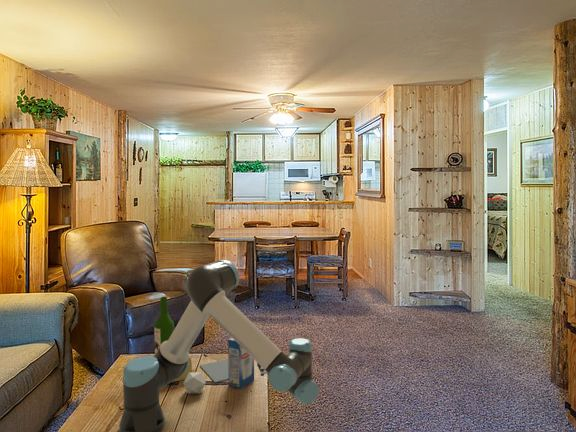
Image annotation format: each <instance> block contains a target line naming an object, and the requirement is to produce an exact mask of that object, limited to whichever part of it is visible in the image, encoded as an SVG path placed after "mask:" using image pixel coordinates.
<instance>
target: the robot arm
mask: <svg viewBox="0 0 576 432" xmlns="http://www.w3.org/2000/svg"><path fill="white" fill-rule="evenodd" d="M239 283H240V274H239V270H238V268H237V267H236V265H235V264H234V263H232V262H231V261H230V260H227V259H217V260H215V261H211V262H210V263H207V264H203V265H199V266H197V267H195V268H194V269H193V270H192V271H190V273H189V275H188V277H187V279H186V292H187V295H188V297H189V298H190V302H189V303H188V305H187V307H186V309H185V310H184V312H183V314H182V315H181V317H180V319H179V320H178V322H177V325H176V326H175V327H174V331H173V333H172V335H171V336H170V338H169V340H167V341H164V342H163V343H162V344H161V345H160V347H159V349H158V351H157V352H156V354H155V353H154V354H153V355H144V356H140V357H135V358H134V359H133V358H132V359H131V360H130V361H128V362H127V363H126V365H125V366H124V367H123V371H122V372H123V373H122V374H123V375H122V383H123V384H122V387H123V411H122V415H121V417H120V422H119V426H118V427H119V430H118V431H119V432H161V431H162V430H164V427H165V425H166V418H165V417H166V416H165V415H164V411H163V410H162V406H161V404H160V391H161V390H162V389H163V388H165V387H166V386H167V385H169V384H170V383H173V382H172V381H173V380H175V379H177V378H179V377H180V376H181V375H182V374H183V373H184V372H185V371H186V369H187V367H188V363H189V360H188V359H189V356H190V352H189V351H190V349H191V348H192V346H193V344H194V343H195V341H196V340H197V337H198V336H199V334H200V333H201V331H202V330H203V327H204V326H205V324H207V321H208V319H209V318H212V319H213V320H214V321H215V322H216V323H217V324H218V325H219V326H220V327H221V328H222V329H223V330H224V332H226V334H228V335H229V336H230V338H233V339H234V340H235V341H236V342H237V343H238V344H239V345H240V346H241V347H242V348H243V349H244V350H245V351H246V352H247V353H248V354H249V355H250V356H251V357H252V358H253V359H254V362H256V363H257V364H256V366H257V368H258V370H259V371H260V376H261V377H264V376H265V375H268V376H267V377H268V382H269V385H270V387H271V388H272V389H273V390H275V391H277V392H280V393H281V392H282V393H283V392H288V394H290V395H291V396H293V398H295V399H296V400H297V401H299V402H300V403H302V404H304V405H307V404H312V403H313V402H314V401H315V400H316V399H317V397H318V395H319V386H318V384H317V383H316V381H314V380H313V345H312V344H313V343H312V342H311V341H310V340H309V339H308V338H303V337H302V338H300V337H299V338H292V339H291V340H290V341H289V343H288V353H287V354H286V353H285V352H283V351H282V350H281V349H280V348H279V347H278V346H277V345H276V344H275V343H274V342H273V341H272V340H271V339H270V338H269V337H268V336H267V335H265V333H264V332H263V331H262V330H260V328H259V327H257V325H255V323H253V322H252V320H250V319H249V318H248V317H247V316H246V315H245V314H244V313H243V312H242V311H241V310H240V309H239V308H238V307H237V306H236V305H235V304H234V303H233V302H232V301H231V300H230V299H228V297H227V296H228V294H229V293H230V292H232V291H234V290H235V289H236V288H237V287H238V285H239Z"/></svg>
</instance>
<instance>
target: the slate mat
mask: <svg viewBox="0 0 576 432" xmlns="http://www.w3.org/2000/svg"><path fill="white" fill-rule="evenodd" d="M199 367H200V368H201V369H202V370H203V371H204V372H205V374H206V373H207V374H208V375H209V376H208V375H207V374H206V375H207V376H208V377H209V378H210V379H211V380H212V382H213V383H214V384H217V383H220V382H224V381H225V382H226V381H229V370H228V358H227V359H221V360H216V361H213V362H208V363H203V364H199Z"/></svg>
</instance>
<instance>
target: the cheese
mask: <svg viewBox="0 0 576 432" xmlns="http://www.w3.org/2000/svg"><path fill="white" fill-rule="evenodd" d="M188 360H189V363H188V367H187V369H186V371H185V372H184V373H183V374H182V375H181V376H180V377H179V378H177V379H175V380H173V381H172V382H171V383H174V381H175V382H179V381H185V379H186V377H187V376H188V374H189V373H190V372H192V371H193V370H192V369H193V366H192V365H193V364H192V363H193V362H192V358H191V355H189V359H188Z"/></svg>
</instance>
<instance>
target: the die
mask: <svg viewBox="0 0 576 432" xmlns="http://www.w3.org/2000/svg"><path fill="white" fill-rule="evenodd" d="M205 385H206V380H205V377H204V375H203V373H202V372H200V371H199V372H197V371H195V372H190V373H189V374H188V376H187V377H186V379H185V380H183V386H184V389H185V390H186V393H187V394H188V395H195V394H196V395H197V394H199V395H201V393H202V392H203V389H204V387H205Z"/></svg>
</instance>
